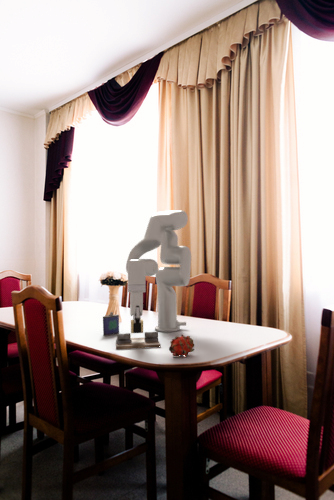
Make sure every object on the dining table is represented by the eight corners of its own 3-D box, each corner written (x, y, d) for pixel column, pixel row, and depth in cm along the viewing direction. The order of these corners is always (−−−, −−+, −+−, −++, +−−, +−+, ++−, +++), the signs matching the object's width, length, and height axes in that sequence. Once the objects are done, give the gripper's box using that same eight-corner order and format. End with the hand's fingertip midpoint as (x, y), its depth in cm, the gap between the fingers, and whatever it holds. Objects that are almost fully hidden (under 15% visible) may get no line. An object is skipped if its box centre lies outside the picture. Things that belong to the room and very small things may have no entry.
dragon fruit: (195, 357, 145) (173, 368, 137) (181, 341, 149) (158, 351, 141) (203, 342, 140) (180, 352, 132) (188, 326, 145) (165, 336, 137)
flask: (116, 332, 186) (116, 310, 186) (120, 333, 184) (120, 311, 184) (101, 335, 179) (101, 312, 179) (105, 336, 177) (105, 313, 177)
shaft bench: (156, 339, 168) (156, 328, 168) (160, 347, 154) (160, 335, 154) (115, 341, 166) (115, 330, 166) (116, 349, 152) (116, 336, 152)
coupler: (131, 333, 157) (131, 321, 158) (130, 331, 162) (130, 319, 162) (143, 332, 158) (143, 320, 158) (142, 331, 162) (142, 319, 162)
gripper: (127, 287, 168) (127, 328, 168) (128, 290, 151) (128, 336, 151) (143, 287, 169) (144, 327, 169) (147, 290, 153) (147, 335, 152)
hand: (136, 331), depth 160 cm, fingers closed on coupler, 4 cm apart
